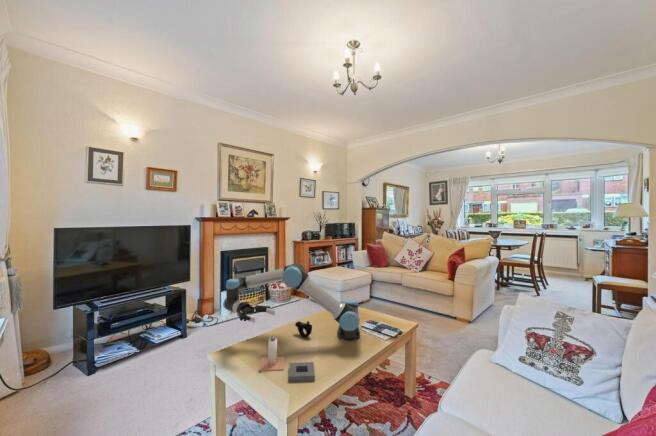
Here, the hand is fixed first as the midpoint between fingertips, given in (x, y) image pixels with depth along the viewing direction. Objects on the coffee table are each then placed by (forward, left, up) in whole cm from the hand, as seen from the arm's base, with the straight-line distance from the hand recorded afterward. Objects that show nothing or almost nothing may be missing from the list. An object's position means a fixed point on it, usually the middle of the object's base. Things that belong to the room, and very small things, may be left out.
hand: (264, 316), depth 152 cm
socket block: (-20, +20, -22) cm, 36 cm away
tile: (-5, +10, -22) cm, 25 cm away
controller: (-22, -23, -22) cm, 39 cm away
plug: (-5, +10, -21) cm, 24 cm away
